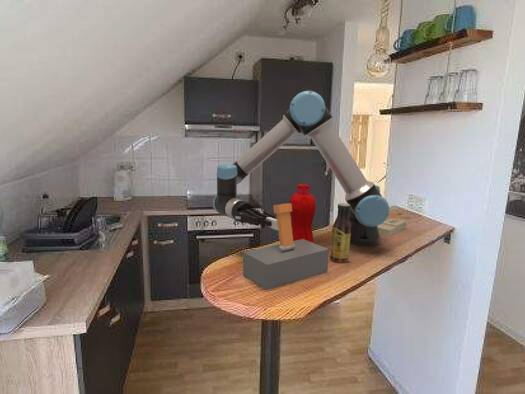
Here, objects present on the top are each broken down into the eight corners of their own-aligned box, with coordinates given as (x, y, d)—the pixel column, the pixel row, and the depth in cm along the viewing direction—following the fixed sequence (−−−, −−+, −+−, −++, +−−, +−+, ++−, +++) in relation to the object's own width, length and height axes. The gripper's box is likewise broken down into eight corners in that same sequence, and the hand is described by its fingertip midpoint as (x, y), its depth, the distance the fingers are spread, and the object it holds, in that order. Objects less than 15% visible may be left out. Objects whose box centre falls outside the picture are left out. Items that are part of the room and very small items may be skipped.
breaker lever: (290, 248, 109) (286, 203, 109) (296, 249, 107) (291, 203, 107) (278, 251, 106) (273, 205, 106) (283, 252, 104) (278, 205, 104)
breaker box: (301, 260, 120) (302, 239, 118) (327, 271, 110) (328, 249, 109) (242, 275, 106) (243, 251, 104) (266, 290, 96) (267, 264, 95)
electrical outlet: (374, 224, 154) (391, 218, 167) (373, 233, 155) (390, 226, 168) (389, 228, 149) (406, 220, 162) (388, 237, 150) (405, 229, 163)
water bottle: (309, 246, 134) (312, 182, 129) (315, 256, 123) (319, 186, 118) (285, 246, 134) (288, 181, 129) (289, 256, 123) (291, 186, 118)
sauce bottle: (326, 257, 122) (329, 202, 119) (341, 255, 125) (345, 201, 121) (336, 264, 116) (340, 206, 113) (352, 262, 119) (356, 205, 115)
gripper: (254, 218, 130) (295, 234, 112) (224, 223, 123) (262, 241, 104) (255, 198, 129) (296, 211, 110) (224, 202, 122) (263, 216, 103)
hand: (280, 226), depth 107 cm, fingers closed
